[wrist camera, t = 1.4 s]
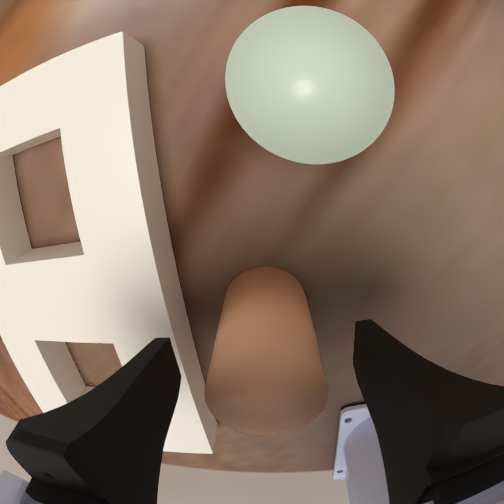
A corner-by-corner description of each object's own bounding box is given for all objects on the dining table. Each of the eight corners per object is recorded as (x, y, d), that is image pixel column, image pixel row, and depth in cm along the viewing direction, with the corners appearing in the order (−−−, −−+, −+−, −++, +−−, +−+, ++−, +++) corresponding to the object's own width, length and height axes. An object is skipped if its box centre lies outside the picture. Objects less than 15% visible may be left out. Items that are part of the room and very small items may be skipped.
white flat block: (217, 424, 19) (212, 453, 17) (70, 412, 20) (57, 433, 17) (144, 46, 12) (122, 31, 9) (-24, 119, 12) (-52, 122, 10)
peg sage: (340, 149, 13) (401, 160, 7) (247, 157, 13) (236, 172, 7) (329, 62, 12) (380, 9, 6) (237, 68, 12) (216, 13, 6)
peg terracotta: (307, 333, 16) (326, 429, 10) (230, 340, 16) (216, 436, 10) (303, 261, 15) (329, 344, 9) (218, 270, 15) (191, 356, 9)
